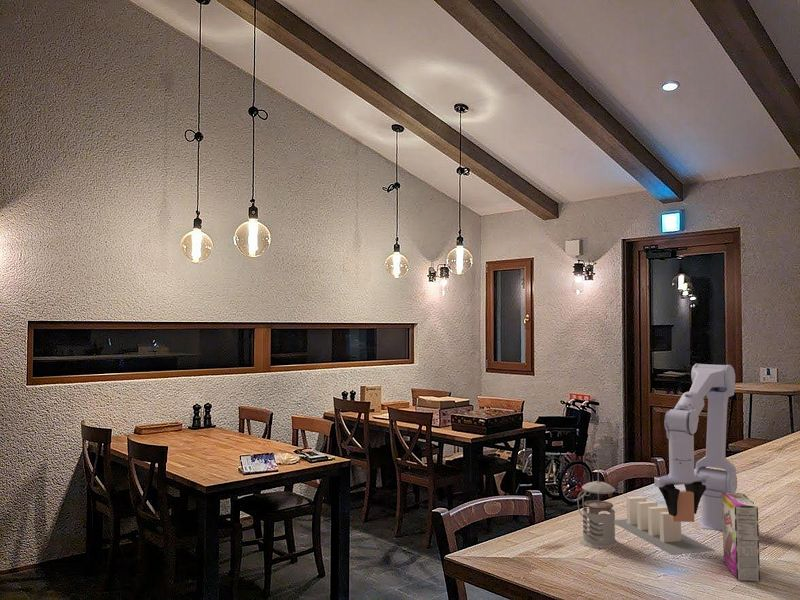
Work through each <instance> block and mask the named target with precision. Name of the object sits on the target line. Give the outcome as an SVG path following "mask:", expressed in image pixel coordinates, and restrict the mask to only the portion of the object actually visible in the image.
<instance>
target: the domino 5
mask: <svg viewBox="0 0 800 600" xmlns="http://www.w3.org/2000/svg"><path fill="white" fill-rule="evenodd" d="M671 520H672V521H677V522H681V523H682V522H683V523H685V522H686V523H695V514H694V493H693V492H690V491H686V490H684V491H683V490H680V492H679V496H678V502H677V516H672V515H671Z"/></svg>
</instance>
